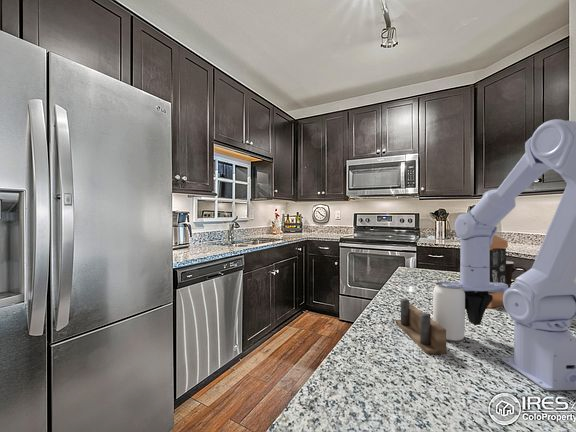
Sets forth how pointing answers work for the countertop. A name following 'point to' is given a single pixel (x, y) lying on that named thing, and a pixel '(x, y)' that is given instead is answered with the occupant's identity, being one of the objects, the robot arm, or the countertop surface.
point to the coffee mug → (510, 272)
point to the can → (449, 310)
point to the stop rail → (422, 329)
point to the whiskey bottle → (497, 268)
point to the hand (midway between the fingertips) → (474, 323)
